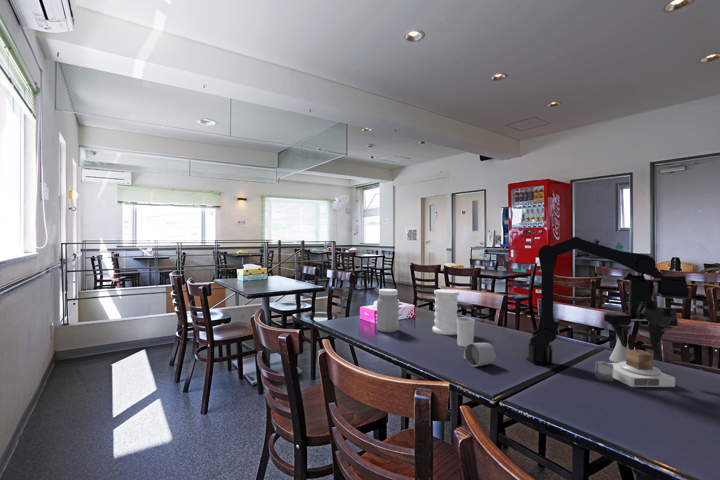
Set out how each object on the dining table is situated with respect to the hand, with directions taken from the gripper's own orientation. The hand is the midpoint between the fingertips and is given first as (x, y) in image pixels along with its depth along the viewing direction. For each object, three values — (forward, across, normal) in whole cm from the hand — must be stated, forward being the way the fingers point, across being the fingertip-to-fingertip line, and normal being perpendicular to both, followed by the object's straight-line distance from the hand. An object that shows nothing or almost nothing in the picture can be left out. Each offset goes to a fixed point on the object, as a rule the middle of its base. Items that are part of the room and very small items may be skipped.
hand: (639, 347), depth 107 cm
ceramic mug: (+10, -45, +12) cm, 48 cm away
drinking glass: (+10, -42, +33) cm, 54 cm away
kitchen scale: (+9, -1, 0) cm, 9 cm away
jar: (+10, -70, +54) cm, 89 cm away
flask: (+10, +6, +14) cm, 18 cm away
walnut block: (+6, 0, 0) cm, 6 cm away
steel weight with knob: (+10, -11, 0) cm, 15 cm away
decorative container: (+10, -44, +53) cm, 69 cm away
